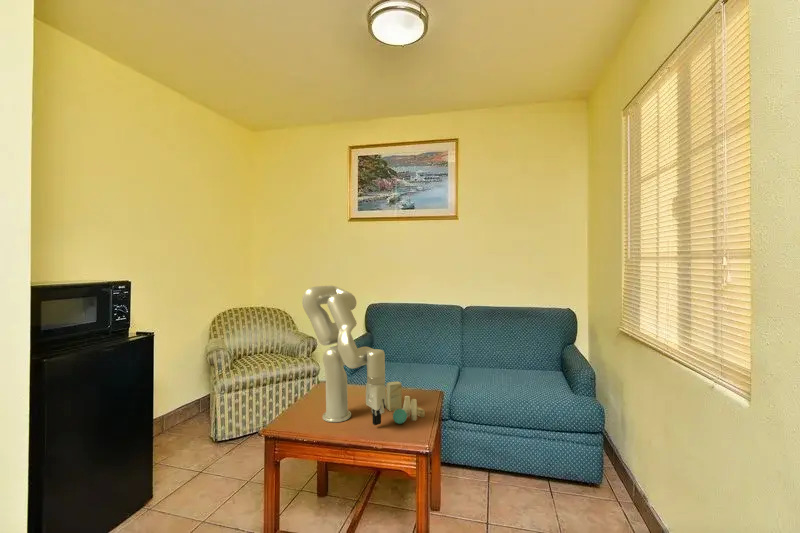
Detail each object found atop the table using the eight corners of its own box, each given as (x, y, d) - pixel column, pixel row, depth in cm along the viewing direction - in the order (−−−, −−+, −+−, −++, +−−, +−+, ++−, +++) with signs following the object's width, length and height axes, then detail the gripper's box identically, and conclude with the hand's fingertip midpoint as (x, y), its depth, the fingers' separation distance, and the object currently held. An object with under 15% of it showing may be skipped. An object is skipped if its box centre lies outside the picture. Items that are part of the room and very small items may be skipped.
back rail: (406, 409, 174) (406, 402, 174) (409, 408, 174) (409, 402, 174) (422, 417, 164) (421, 410, 164) (424, 416, 164) (424, 410, 164)
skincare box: (389, 411, 171) (389, 385, 171) (386, 408, 175) (385, 382, 175) (402, 409, 174) (401, 383, 174) (398, 406, 178) (398, 380, 178)
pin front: (399, 417, 162) (403, 397, 164) (403, 418, 163) (408, 398, 165) (402, 419, 160) (406, 399, 162) (406, 420, 161) (411, 399, 163)
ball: (406, 414, 162) (395, 423, 160) (399, 403, 161) (388, 412, 159) (411, 419, 157) (400, 429, 155) (404, 408, 156) (393, 417, 154)
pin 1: (403, 415, 166) (403, 396, 166) (408, 414, 168) (407, 395, 168) (406, 417, 164) (406, 398, 164) (411, 415, 166) (410, 396, 166)
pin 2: (410, 419, 162) (409, 399, 162) (414, 417, 163) (414, 398, 164) (413, 421, 160) (413, 401, 160) (417, 419, 161) (417, 400, 162)
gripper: (359, 377, 158) (360, 420, 158) (377, 386, 146) (378, 432, 146) (375, 374, 163) (375, 416, 163) (393, 382, 150) (394, 427, 150)
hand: (376, 423), depth 154 cm, fingers closed
